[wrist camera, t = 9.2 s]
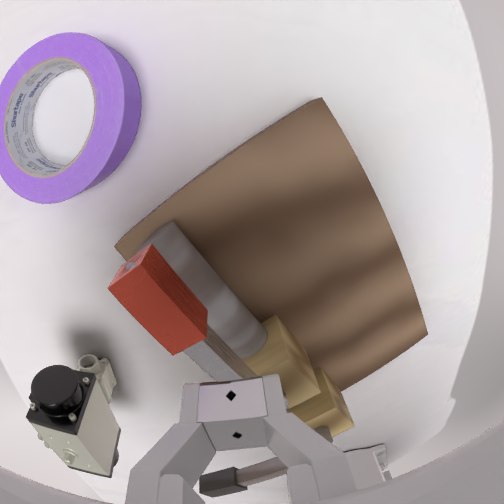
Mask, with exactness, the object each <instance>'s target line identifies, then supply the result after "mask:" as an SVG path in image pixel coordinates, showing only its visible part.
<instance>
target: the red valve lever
mask: <svg viewBox="0 0 504 504" xmlns="http://www.w3.org/2000/svg"><path fill="white" fill-rule="evenodd" d="M108 290H109V291H110V292H111V293H112V294H113V295H114V296H115V297H116V298H117V300H118V301H119V302H120V303H121V304H122V305H123V306H124V307H125V308H126V309H127V310H128V311H129V312H130V314H131V315H132V316H133V317H134V318H135V319H136V320H137V321H138V322H139V323H140V324H141V325H142V326H143V327H144V328H145V329H146V330H147V331H148V332H149V333H150V334H151V335H152V336H153V337H154V338H155V339H156V340H157V341H158V342H159V343H160V344H161V345H162V346H163V347H165V348H166V349H167V350H168V351H169V352H170V353H171V354H172V355H175V354H177V353H179V352H181V351H184V352H185V353H186V354H187V355H188V356H189V357H190V358H191V359H192V360H193V361H194V362H195V363H197V364H198V365H199V366H200V367H201V368H202V369H203V370H204V371H205V372H207V373H208V374H209V375H210V376H211V377H212V378H213V379H214V380H216V381H217V382H220V381H231V380H237V379H244V378H252V377H258V375H257V374H256V373H255V372H254V371H253V370H252V369H251V368H250V367H249V366H248V365H247V364H246V363H245V362H244V361H243V360H242V359H241V358H240V357H239V356H238V355H237V354H236V353H235V352H234V351H233V350H232V349H231V348H230V347H229V346H228V345H227V344H226V343H225V342H224V341H223V340H222V339H221V338H220V337H219V336H218V335H217V334H216V332H215V331H214V330H213V329H212V328H211V327H210V326H209V325H208V324H207V319H208V310H207V309H206V307H205V306H204V305H203V304H202V303H201V302H200V301H199V299H198V298H197V297H196V296H195V295H194V294H193V292H192V291H191V290H190V289H189V288H188V287H187V285H186V284H185V283H184V282H183V281H182V279H181V278H180V277H179V276H178V275H177V273H176V272H175V271H174V270H173V269H172V267H171V266H170V265H169V264H168V263H167V261H166V260H165V259H164V258H163V256H162V255H161V254H160V253H159V251H158V250H157V249H156V248H155V246H154V245H153V244H152V243H151V244H150V245H149V246H147V247H146V248H145V249H143V250H142V251H141V252H139V253H138V254H136V255H135V256H134V257H132V258H131V259H130V260H128V261H127V262H126V263H124V264H123V265H122V266H121V268H120V269H119V271H118V272H117V274H116V275H115V277H114V279H113V280H112V282H111V283H110V285H109V287H108ZM282 392H283V397H284V401H285V406H286V411H288V410H289V404H288V400H287V396H286V393H285V392H284V391H282Z"/></svg>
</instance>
